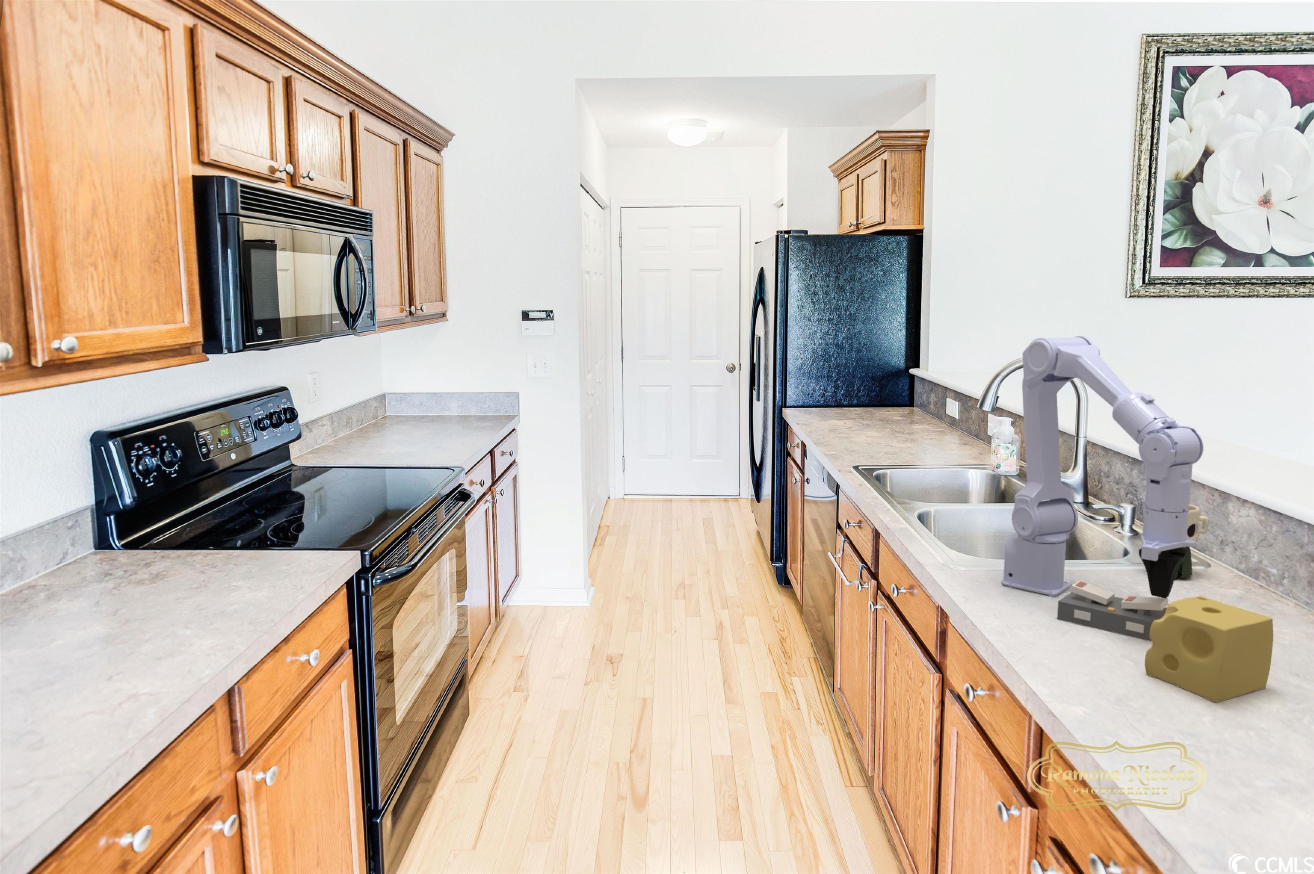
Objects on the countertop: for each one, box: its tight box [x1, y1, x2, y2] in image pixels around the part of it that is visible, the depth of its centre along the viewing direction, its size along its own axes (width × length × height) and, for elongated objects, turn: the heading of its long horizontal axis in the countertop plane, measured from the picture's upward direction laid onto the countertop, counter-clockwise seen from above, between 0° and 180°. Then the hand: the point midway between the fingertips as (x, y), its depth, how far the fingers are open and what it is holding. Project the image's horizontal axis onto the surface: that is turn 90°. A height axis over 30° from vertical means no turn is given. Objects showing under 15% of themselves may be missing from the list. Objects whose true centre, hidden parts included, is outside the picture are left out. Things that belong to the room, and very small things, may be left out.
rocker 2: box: [1121, 595, 1169, 611], centre depth 133 cm, size 6×4×1 cm, turn 45°
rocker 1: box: [1069, 580, 1116, 605], centre depth 139 cm, size 6×4×1 cm, turn 46°
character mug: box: [1175, 503, 1209, 579], centre depth 158 cm, size 11×7×13 cm, turn 82°
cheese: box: [1144, 595, 1274, 703], centre depth 115 cm, size 10×11×10 cm
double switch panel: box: [1057, 591, 1167, 642], centre depth 136 cm, size 15×8×4 cm, turn 45°
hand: (1159, 595), depth 132 cm, fingers closed
